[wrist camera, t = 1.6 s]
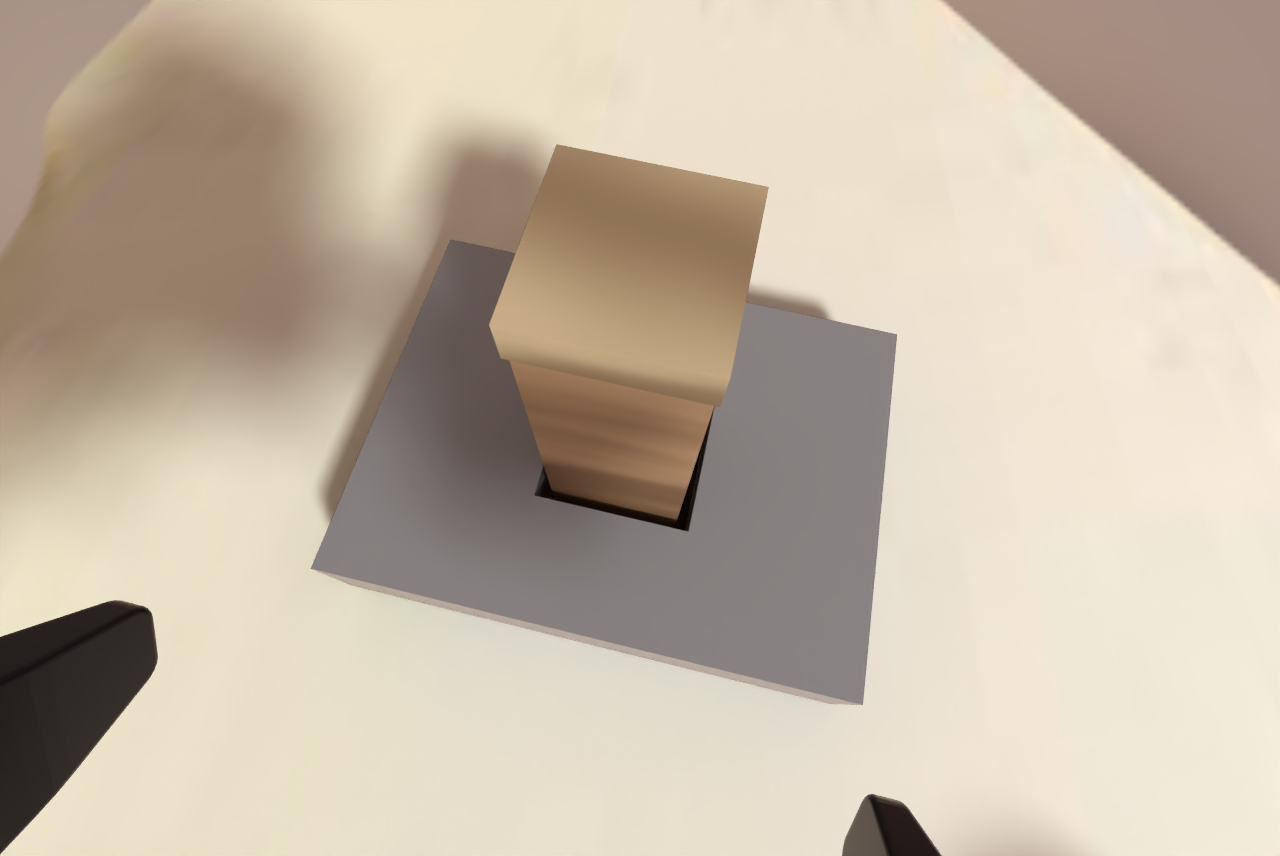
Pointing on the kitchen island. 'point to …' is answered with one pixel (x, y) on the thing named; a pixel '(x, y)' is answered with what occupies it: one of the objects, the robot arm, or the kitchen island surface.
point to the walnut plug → (626, 324)
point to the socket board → (624, 547)
